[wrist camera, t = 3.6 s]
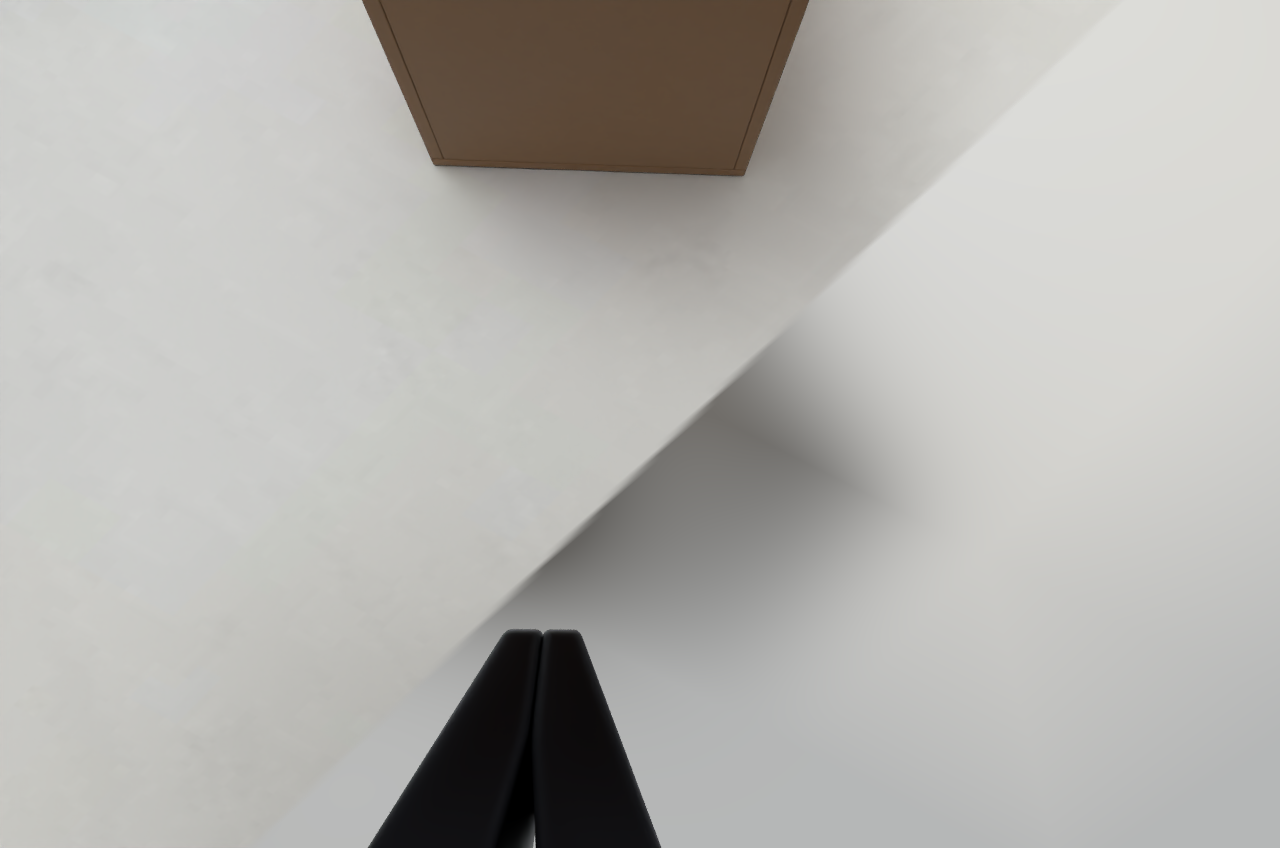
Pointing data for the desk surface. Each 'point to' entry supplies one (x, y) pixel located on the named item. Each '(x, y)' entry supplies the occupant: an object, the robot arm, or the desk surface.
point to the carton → (589, 80)
